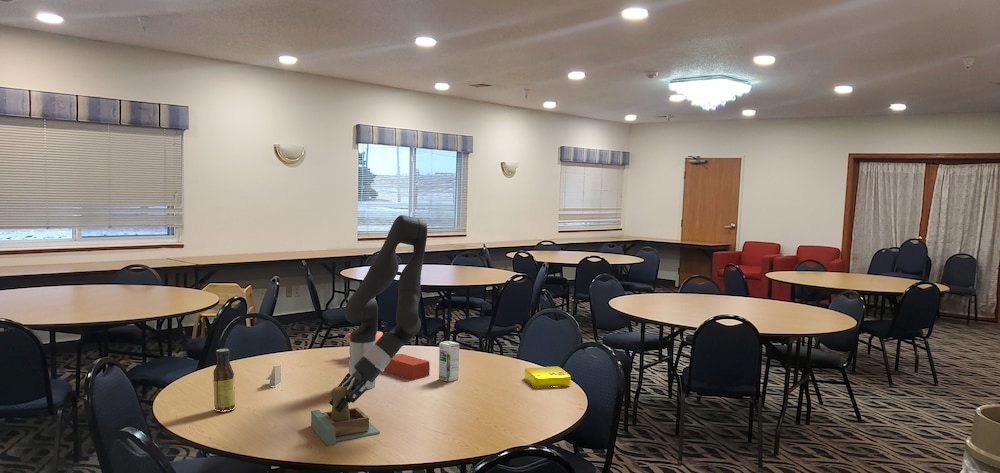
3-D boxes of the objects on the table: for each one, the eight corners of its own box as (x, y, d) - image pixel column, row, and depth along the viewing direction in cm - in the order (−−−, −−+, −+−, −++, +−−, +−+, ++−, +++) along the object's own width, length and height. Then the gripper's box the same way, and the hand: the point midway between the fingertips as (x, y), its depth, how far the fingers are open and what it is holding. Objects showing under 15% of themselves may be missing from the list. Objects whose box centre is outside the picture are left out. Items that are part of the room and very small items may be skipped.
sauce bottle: (239, 408, 212) (239, 348, 211) (225, 414, 206) (225, 353, 205) (223, 406, 214) (222, 346, 213) (209, 411, 208) (208, 351, 207)
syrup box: (438, 379, 251) (438, 342, 250) (449, 376, 255) (449, 340, 254) (448, 382, 247) (448, 344, 246) (459, 379, 251) (459, 342, 250)
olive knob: (331, 420, 196) (331, 384, 195) (352, 420, 196) (352, 384, 196) (328, 427, 190) (328, 390, 189) (349, 427, 190) (349, 390, 190)
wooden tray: (322, 425, 196) (322, 412, 196) (357, 419, 201) (357, 407, 201) (332, 436, 186) (332, 424, 186) (368, 430, 192) (369, 418, 192)
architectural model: (265, 388, 236) (265, 368, 236) (273, 383, 243) (273, 363, 243) (274, 389, 236) (274, 368, 236) (282, 383, 243) (282, 364, 242)
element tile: (558, 376, 259) (559, 364, 259) (572, 387, 245) (572, 374, 245) (523, 378, 256) (523, 366, 255) (534, 389, 241) (534, 376, 241)
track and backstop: (311, 425, 198) (311, 410, 197) (362, 417, 206) (362, 403, 206) (327, 445, 182) (327, 429, 182) (382, 435, 190) (382, 420, 190)
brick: (429, 376, 256) (430, 361, 256) (412, 380, 249) (412, 365, 249) (400, 367, 268) (401, 353, 268) (383, 371, 262) (383, 356, 261)
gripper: (357, 350, 202) (318, 393, 196) (372, 360, 189) (331, 407, 184) (373, 365, 205) (335, 408, 199) (389, 376, 192) (350, 422, 187)
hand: (334, 407), depth 192 cm, fingers closed on olive knob, 5 cm apart
